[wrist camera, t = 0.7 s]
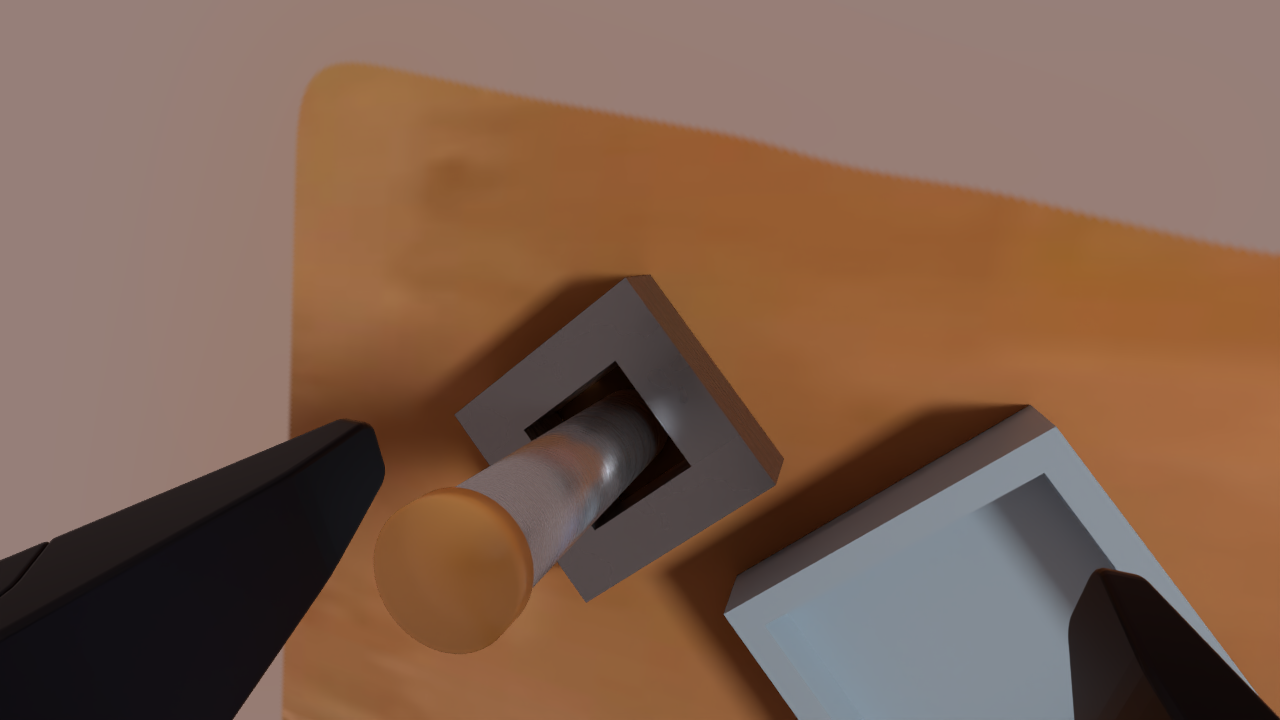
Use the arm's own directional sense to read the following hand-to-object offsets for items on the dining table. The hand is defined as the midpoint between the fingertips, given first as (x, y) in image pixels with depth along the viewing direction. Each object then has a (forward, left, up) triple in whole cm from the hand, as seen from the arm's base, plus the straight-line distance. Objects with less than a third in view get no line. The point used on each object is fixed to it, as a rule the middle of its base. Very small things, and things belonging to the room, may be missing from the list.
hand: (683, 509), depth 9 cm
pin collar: (-7, +1, -17) cm, 18 cm away
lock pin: (-7, +1, -17) cm, 18 cm away
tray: (-1, -12, -17) cm, 21 cm away
